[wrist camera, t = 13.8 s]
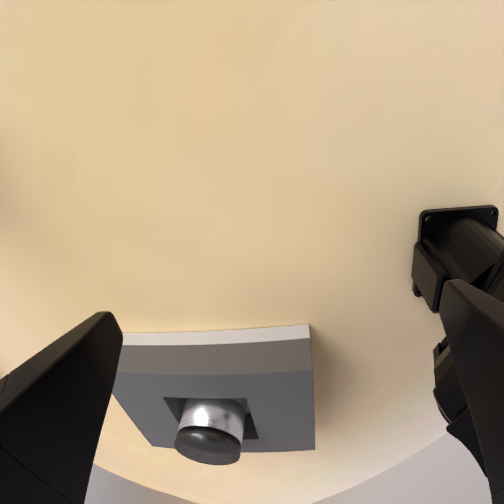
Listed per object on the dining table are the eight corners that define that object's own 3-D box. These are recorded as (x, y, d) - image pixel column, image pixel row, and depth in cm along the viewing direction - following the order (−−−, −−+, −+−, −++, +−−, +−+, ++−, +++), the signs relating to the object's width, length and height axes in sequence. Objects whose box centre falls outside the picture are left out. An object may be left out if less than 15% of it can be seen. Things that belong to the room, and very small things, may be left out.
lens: (241, 374, 24) (231, 438, 19) (252, 408, 27) (245, 466, 21) (182, 375, 25) (164, 434, 20) (200, 408, 28) (186, 462, 22)
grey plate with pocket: (308, 323, 23) (312, 369, 19) (313, 411, 29) (315, 449, 25) (116, 332, 26) (96, 370, 22) (162, 412, 31) (152, 446, 27)
